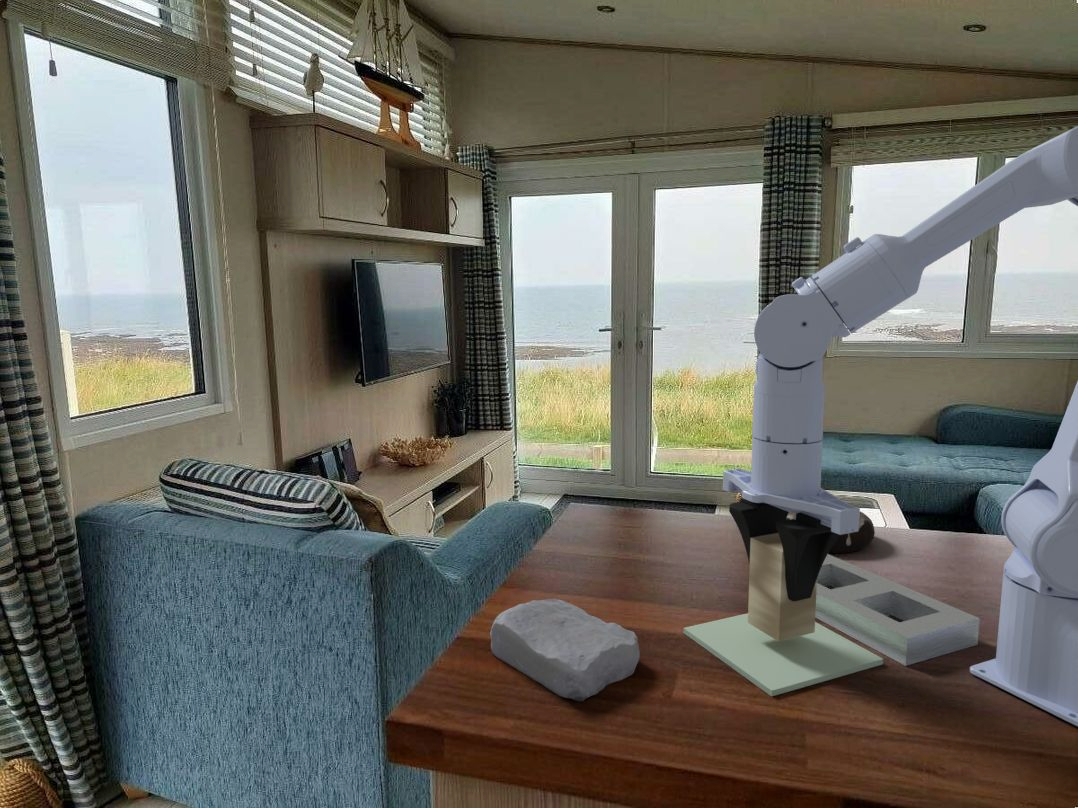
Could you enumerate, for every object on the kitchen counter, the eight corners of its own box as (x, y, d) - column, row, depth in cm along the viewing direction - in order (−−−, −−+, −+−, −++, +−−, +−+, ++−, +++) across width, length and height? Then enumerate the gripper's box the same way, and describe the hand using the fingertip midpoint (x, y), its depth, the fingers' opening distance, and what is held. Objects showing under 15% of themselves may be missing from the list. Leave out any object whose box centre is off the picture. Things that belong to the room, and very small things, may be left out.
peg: (814, 632, 64) (818, 545, 63) (778, 641, 63) (782, 552, 61) (782, 614, 68) (785, 531, 67) (747, 622, 66) (750, 537, 65)
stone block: (559, 640, 72) (478, 653, 65) (567, 592, 72) (486, 601, 65) (652, 693, 63) (568, 715, 56) (661, 639, 63) (579, 655, 56)
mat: (882, 664, 63) (883, 658, 62) (771, 696, 58) (771, 690, 58) (783, 609, 73) (784, 604, 73) (683, 632, 69) (683, 627, 69)
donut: (773, 551, 90) (774, 520, 90) (777, 523, 101) (778, 495, 100) (877, 562, 86) (879, 530, 86) (869, 532, 97) (871, 502, 96)
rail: (977, 644, 66) (979, 618, 65) (905, 665, 62) (907, 638, 62) (826, 575, 82) (827, 553, 82) (762, 588, 79) (762, 566, 78)
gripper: (697, 427, 68) (694, 567, 70) (813, 459, 55) (805, 631, 57) (758, 421, 70) (753, 556, 72) (883, 450, 57) (873, 614, 59)
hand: (780, 588), depth 65 cm, fingers closed on peg, 4 cm apart
